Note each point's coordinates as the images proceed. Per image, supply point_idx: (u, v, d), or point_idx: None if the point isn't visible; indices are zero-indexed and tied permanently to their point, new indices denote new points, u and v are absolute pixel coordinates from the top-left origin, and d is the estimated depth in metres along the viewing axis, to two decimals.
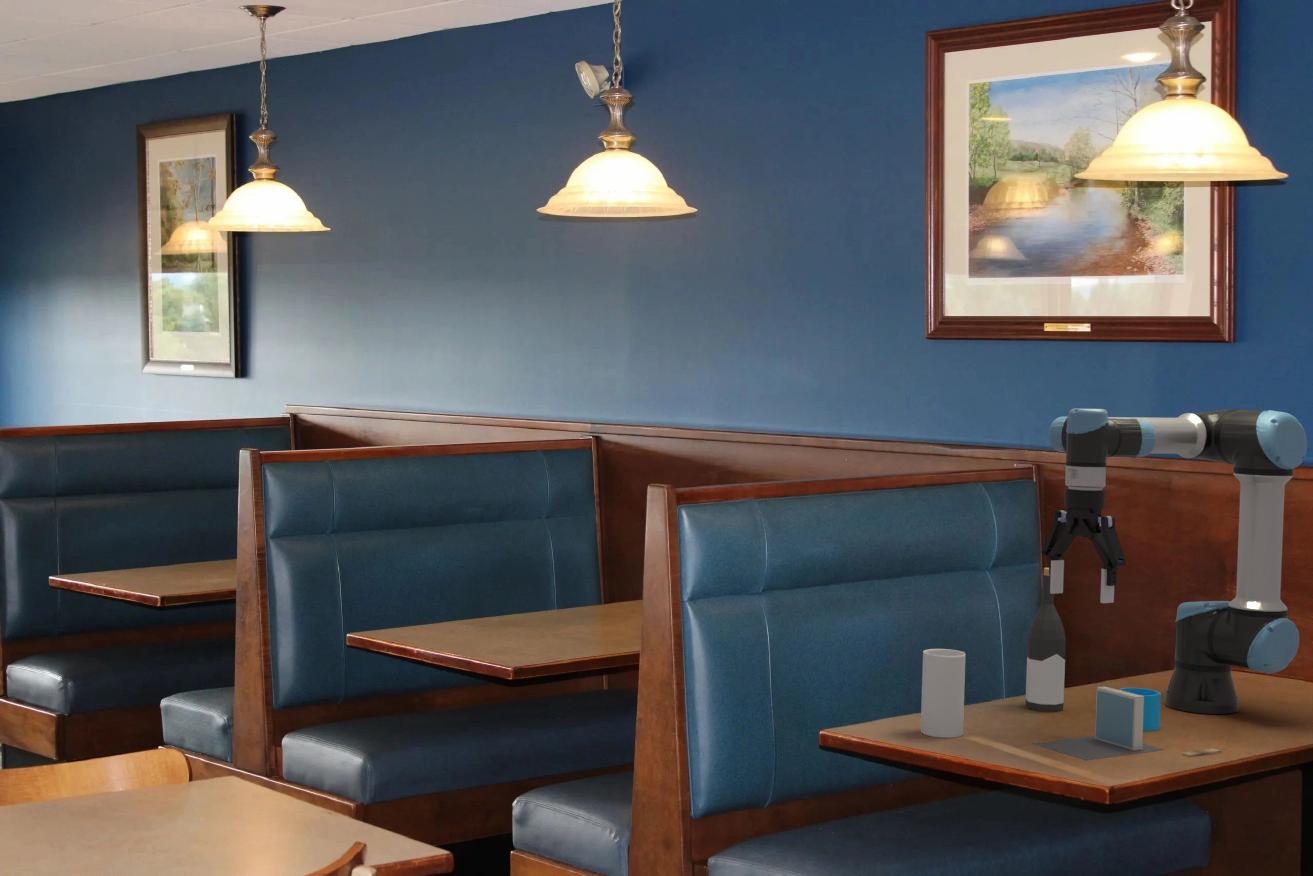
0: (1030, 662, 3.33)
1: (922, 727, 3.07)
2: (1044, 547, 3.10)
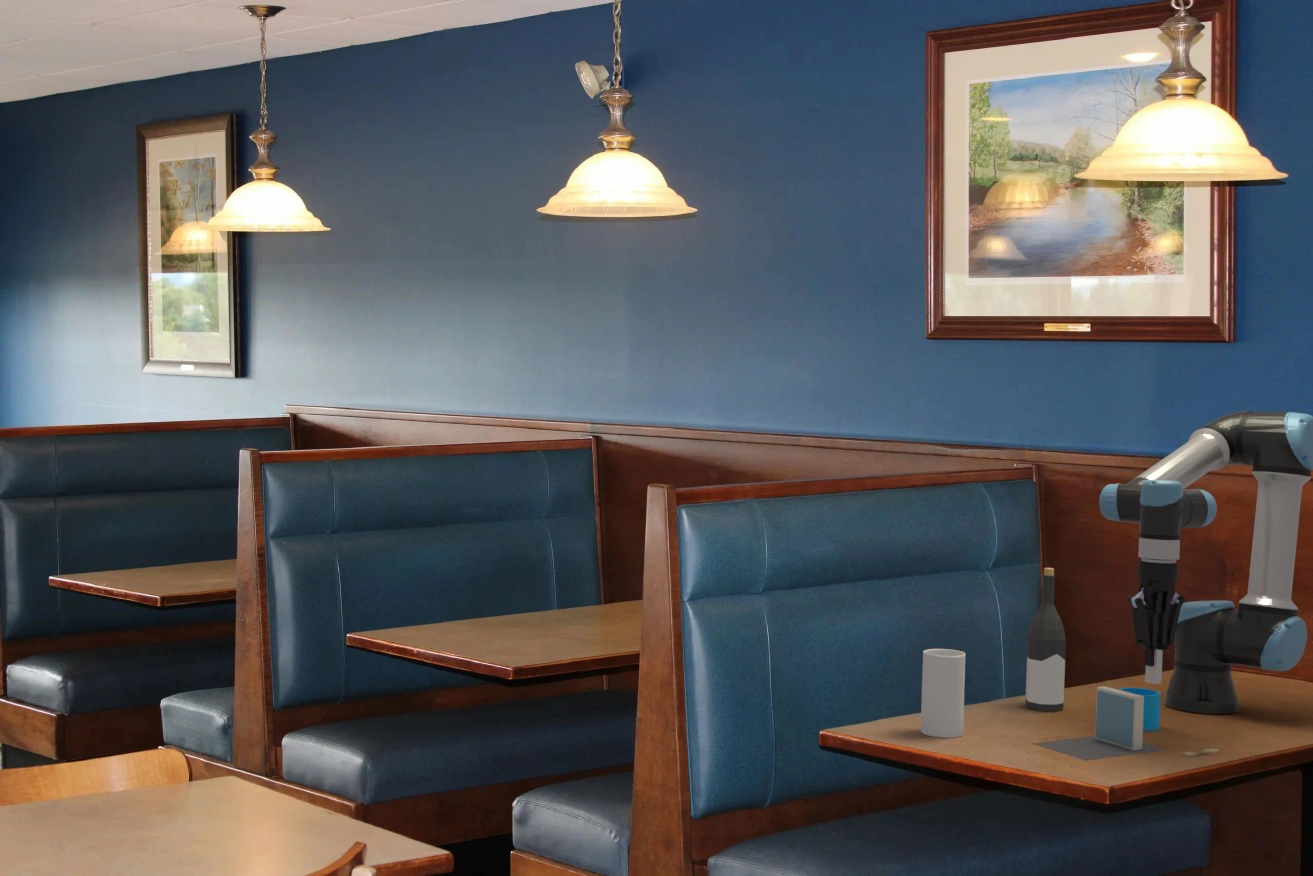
0: (1030, 662, 3.33)
1: (922, 727, 3.07)
2: None
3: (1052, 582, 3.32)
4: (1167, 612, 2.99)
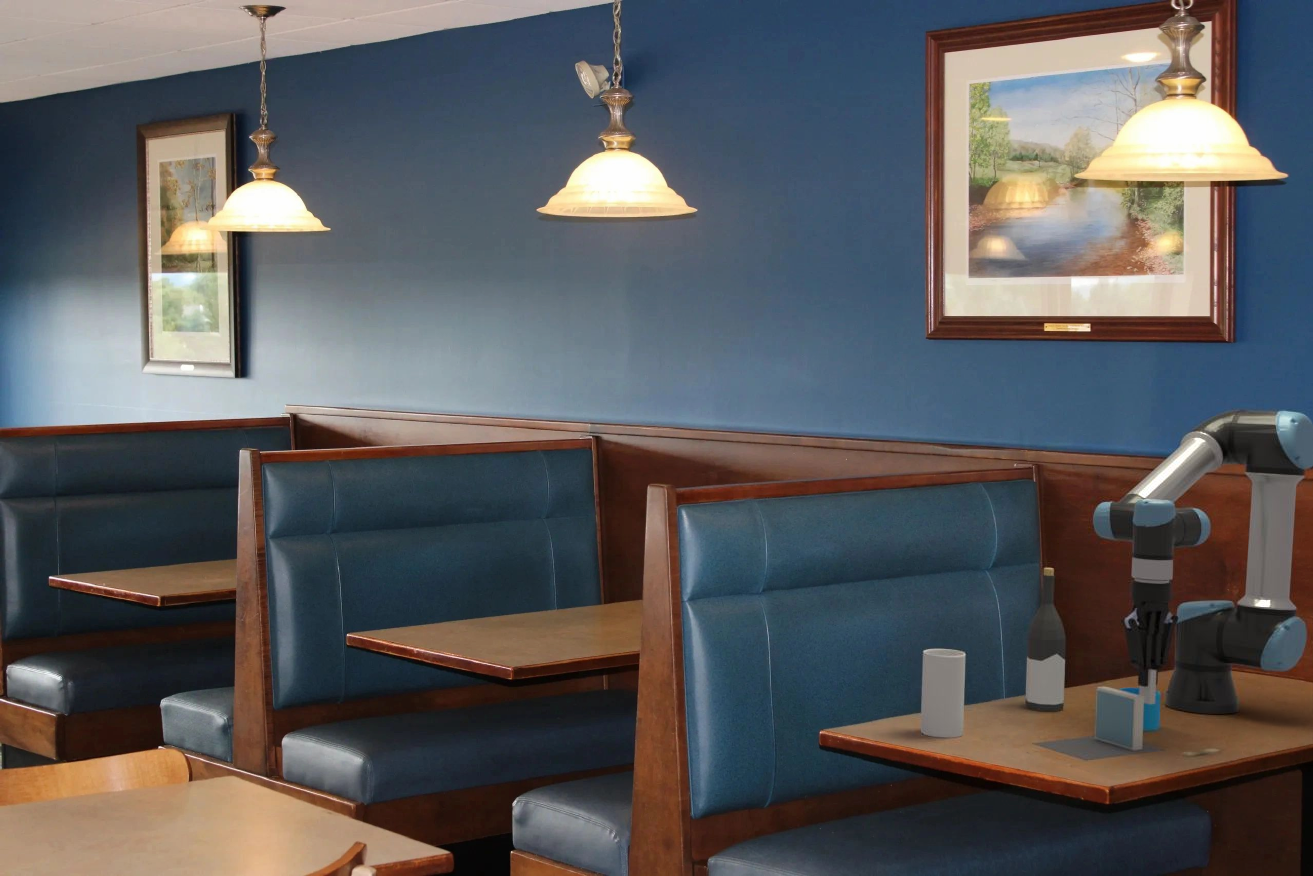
0: (1030, 662, 3.33)
1: (922, 727, 3.07)
2: None
3: (1052, 582, 3.32)
4: (1160, 632, 2.99)
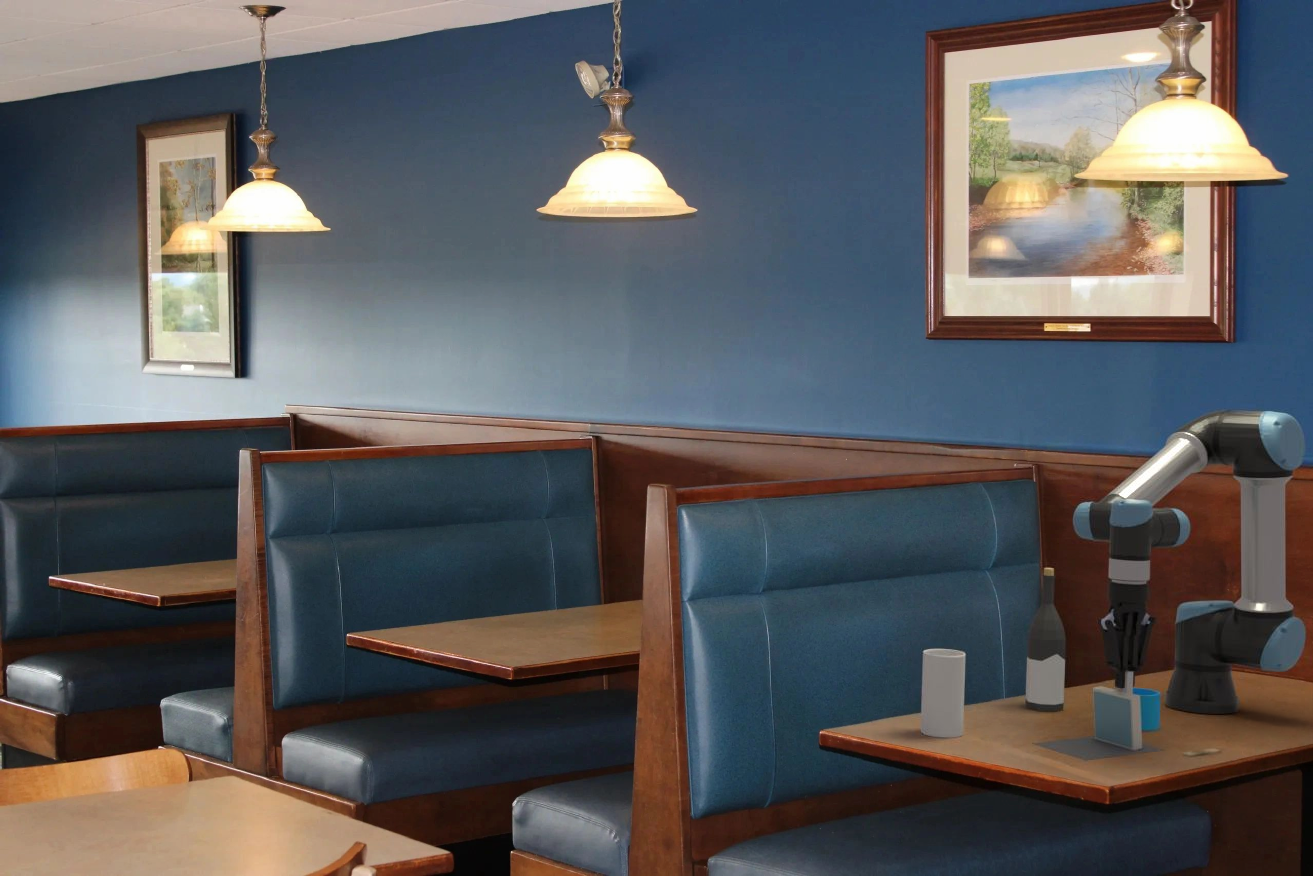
0: (1030, 662, 3.33)
1: (922, 727, 3.07)
2: None
3: (1052, 582, 3.32)
4: (1138, 633, 2.96)
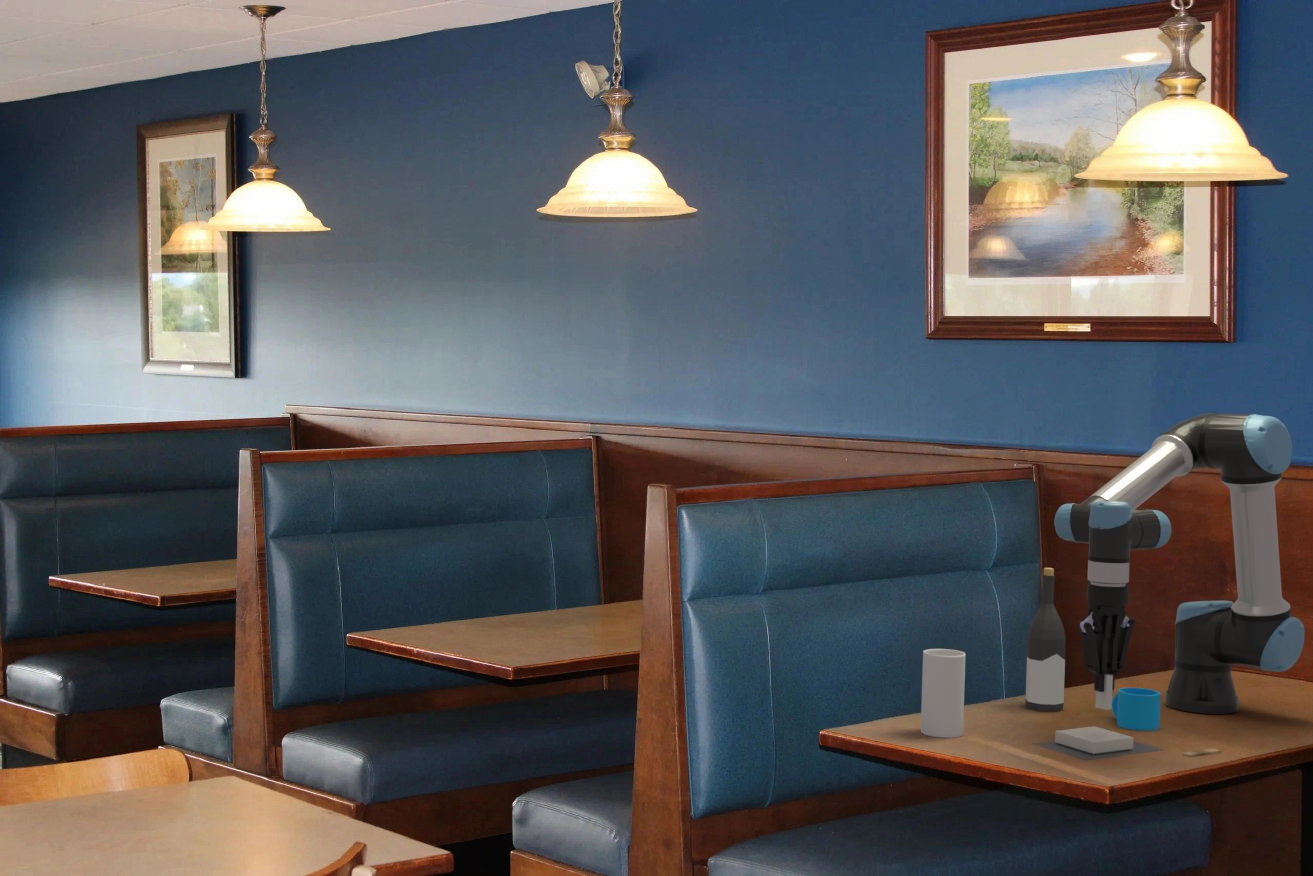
0: (1030, 662, 3.33)
1: (922, 727, 3.07)
2: None
3: (1052, 582, 3.32)
4: (1117, 636, 2.93)
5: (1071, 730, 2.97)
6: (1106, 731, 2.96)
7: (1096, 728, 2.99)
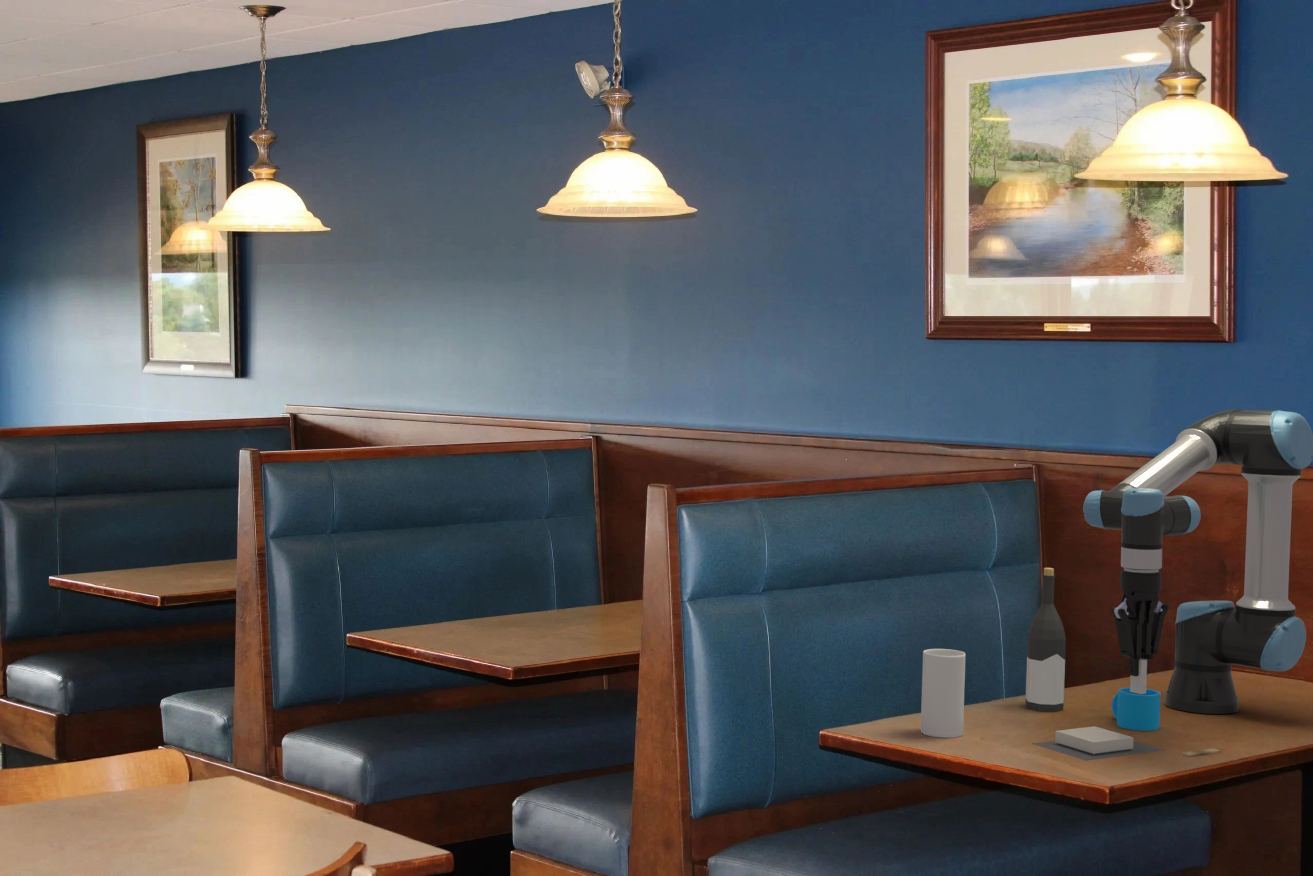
0: (1030, 662, 3.33)
1: (922, 727, 3.07)
2: None
3: (1052, 582, 3.32)
4: (1151, 621, 2.98)
5: (1071, 730, 2.97)
6: (1106, 731, 2.96)
7: (1096, 728, 2.99)
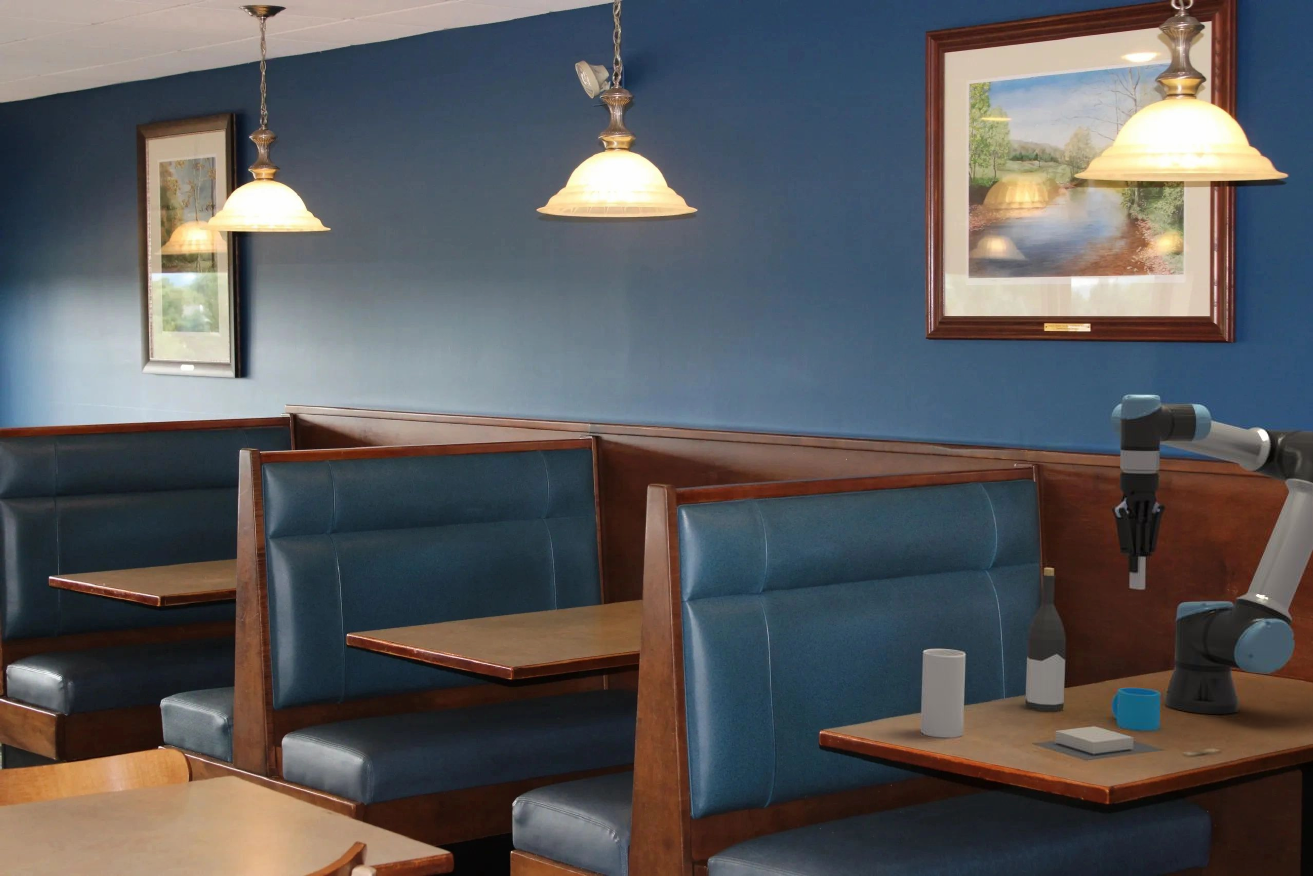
0: (1030, 662, 3.33)
1: (922, 727, 3.07)
2: None
3: (1052, 582, 3.32)
4: (1149, 520, 3.13)
5: (1071, 730, 2.97)
6: (1106, 731, 2.96)
7: (1096, 728, 2.99)
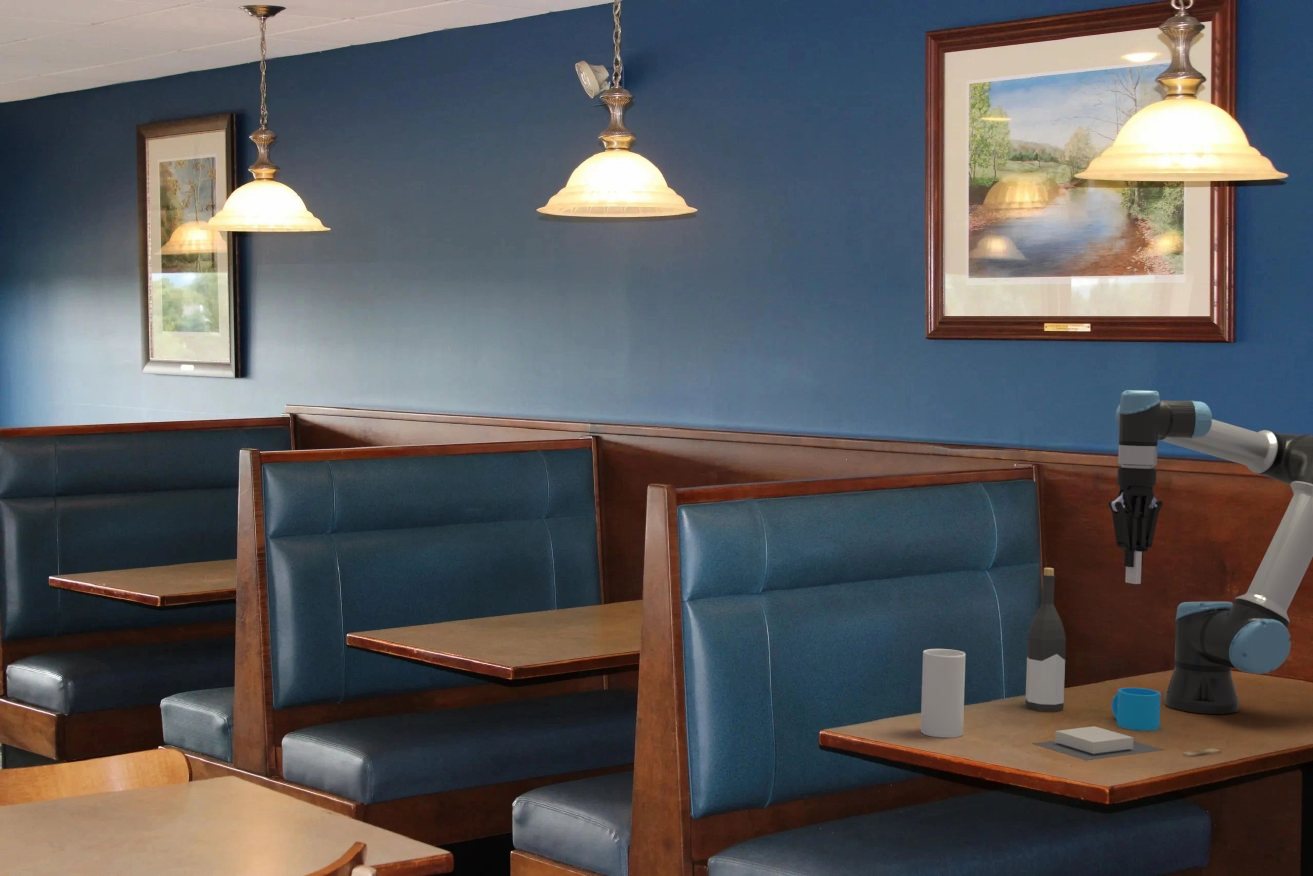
0: (1030, 662, 3.33)
1: (922, 727, 3.07)
2: None
3: (1052, 582, 3.32)
4: (1146, 515, 3.15)
5: (1071, 730, 2.97)
6: (1106, 731, 2.96)
7: (1096, 728, 2.99)
